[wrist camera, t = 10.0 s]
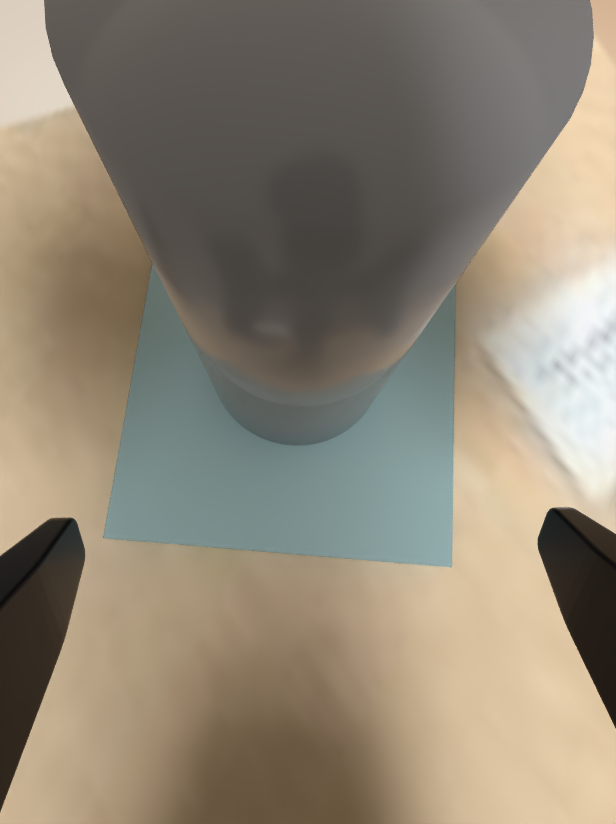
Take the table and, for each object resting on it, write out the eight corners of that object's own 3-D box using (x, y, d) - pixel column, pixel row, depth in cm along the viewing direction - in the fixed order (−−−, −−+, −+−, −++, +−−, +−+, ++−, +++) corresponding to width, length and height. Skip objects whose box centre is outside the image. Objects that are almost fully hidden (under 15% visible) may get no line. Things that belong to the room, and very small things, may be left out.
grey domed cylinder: (326, 479, 17) (437, 345, 5) (177, 386, 18) (-80, 44, 5) (411, 337, 19) (671, -56, 6) (271, 256, 19) (246, -260, 7)
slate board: (444, 565, 18) (451, 567, 17) (111, 537, 17) (103, 538, 16) (449, 227, 21) (456, 216, 20) (170, 197, 21) (166, 184, 20)
